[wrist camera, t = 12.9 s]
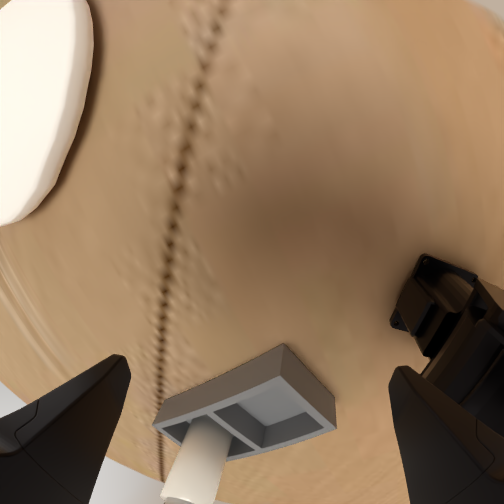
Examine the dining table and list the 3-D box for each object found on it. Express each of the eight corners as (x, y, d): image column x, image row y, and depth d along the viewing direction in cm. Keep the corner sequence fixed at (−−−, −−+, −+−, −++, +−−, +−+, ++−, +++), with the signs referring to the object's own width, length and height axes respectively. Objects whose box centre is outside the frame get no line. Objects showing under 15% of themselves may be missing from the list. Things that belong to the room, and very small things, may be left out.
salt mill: (229, 407, 26) (192, 525, 13) (240, 432, 27) (211, 537, 15) (188, 405, 27) (141, 510, 14) (202, 430, 28) (165, 526, 16)
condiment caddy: (283, 343, 23) (279, 375, 20) (334, 397, 25) (336, 428, 21) (164, 400, 29) (151, 424, 25) (215, 440, 30) (208, 464, 26)
